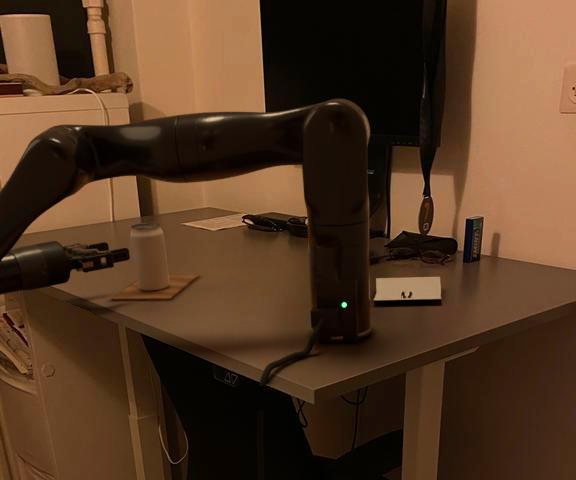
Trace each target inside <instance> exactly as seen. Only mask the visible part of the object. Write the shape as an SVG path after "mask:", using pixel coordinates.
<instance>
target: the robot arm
mask: <svg viewBox="0 0 576 480" xmlns="http://www.w3.org/2000/svg"><path fill="white" fill-rule="evenodd" d="M368 119H369V118H368V117H367V115H366V113H365V112H364V110H363V109H362V108H361V107H360V106H359V105H358V104H356V103H355V102H353V101H351V100H349V99H345V98H332V99H328V100H325V101H323V102H319V103H315V104H310V105H306V106H301V107H296V108H291V109H285V110H279V111H269V112H268V111H267V112H266V111H262V112H261V111H205V112H195V113H194V112H193V113H184V114H176V115H169V116H162V117H157V118H150V119H145V120H140V121H139V120H138V121H135V122H130V123H125V124H113V125H112V124H110V125H109V124H108V125H104V124H99V125H98V124H58V125H53V126H51V127H49V128H47V129H45V130H43V131H42V132H41V133H39V134H38V135H36V136H35V137H33V138H32V140H30V142H29V143H28V145H27V147H26V148H25V150H24V152H23V153H22V154H21V157H20V159H19V161H18V162H17V164H16V166H15V167H14V170H13V171H12V173H11V175H10V176H9V178H8V179H7V181H6V182H5V184H4V185H3V187H2V188H1V189H0V296H3V295H7V294H13V293H18V292H22V291H33V290H34V291H35V290H38V289H39V290H40V289H43V288H48V287H52V286H57V285H62V284H67V283H68V282H69V281H70V279H71V273H72V271H73V270H75V271H76V272H77V273H78V272H83V273H85V274H87V273H90V272H95V271H100V270H106V269H112V268H114V267H115V264H118V263H121V262H127V261H130V259H131V256H130V250H129V248H128V247H121V248H117V249H116V248H115V249H111V250H110V248H109V244H108V242H106V241H101V242H97V243H92V244H87V243H83V244H82V243H80V242H79V243H78V242H77V243H75V244H69V245H64V246H63V245H62V243H60V242H59V241H57V240H51V241H46V242H41V243H35V244H29V245H24V246H20V247H19V246H18V247H16V248H14V247H15V246H16V245H17V243H18V242H19V240H20V239H21V237H22V236H23V235H24V233H25V232H26V231H27V229H28V228H29V227H30V226H31V225H32V224H33V223H34V222H35V221H36V220H37V219H38V218H40V217H41V216H42V215H43V214H44V213H45V212H47V211H48V210H50V209H52V208H54V206H56V205H57V204H59V203H61V202H62V201H64V200H66V198H70V197H72V196H74V195H76V194H77V193H78V192H79V191H80V190H81V189H83V188H84V187H85V186H86V185H88V184H90V183H94V182H99V181H102V180H109V179H114V178H121V177H140V178H145V179H149V180H153V181H158V182H164V183H172V184H191V183H203V182H214V181H221V180H224V179H225V180H226V179H231V178H236V177H240V176H243V175H247V174H252V173H256V172H257V171H262V170H266V169H270V168H275V167H282V166H301V173H302V174H301V175H302V186H303V188H302V189H303V201H304V205H305V209H306V219H307V220H306V221H307V240H308V241H307V244H308V246H307V247H308V265H309V288H310V307H311V309H310V328H311V335H310V336H309V339H308V342H307V344H306V346H305V348H304V349H303V350H300V351H297V352H293V353H291V354H288V355H286V356H284V357H281V358H279V359H278V360H274V361H271V362H270V363H268V364H267V365H266V366H265V368H264V370H263V372H262V375H261V377H260V381H259V386H266V385H267V383H268V380H269V377H270V375H271V373H272V371H273V370H274V369H276V368H279V367H282V366H284V365H285V364H288V363H289V362H292V361H295V360H297V359H302V358H305V357H307V356H308V355H309V354H310V353H311V352H312V350H313V349H314V346H315V344H316V340H317V342H319V343H324V342H325V343H356V342H358V341H359V340H361V339H363V338H366V337H368V336H369V335H370V334H371V333H372V325H371V277H370V276H371V271H370V270H371V268H370V267H371V266H370V265H371V263H370V257H371V256H370V254H369V249H370V198H369V185H368V183H369V181H368V173H369V172H368V146H369V142H370V137H371V127H370V122H369V120H368ZM103 258H104V260H105V261H102V259H103ZM264 412H265V411H264V410H263V409H262V410H261V409H259V410H257V409H256V459H257V460H256V463H257V480H265V461H264V459H265V457H264V455H265V454H264V417H265V416H264V415H265V413H264Z"/></svg>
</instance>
